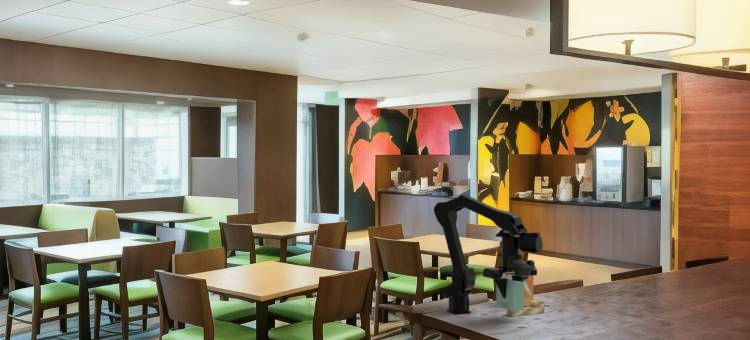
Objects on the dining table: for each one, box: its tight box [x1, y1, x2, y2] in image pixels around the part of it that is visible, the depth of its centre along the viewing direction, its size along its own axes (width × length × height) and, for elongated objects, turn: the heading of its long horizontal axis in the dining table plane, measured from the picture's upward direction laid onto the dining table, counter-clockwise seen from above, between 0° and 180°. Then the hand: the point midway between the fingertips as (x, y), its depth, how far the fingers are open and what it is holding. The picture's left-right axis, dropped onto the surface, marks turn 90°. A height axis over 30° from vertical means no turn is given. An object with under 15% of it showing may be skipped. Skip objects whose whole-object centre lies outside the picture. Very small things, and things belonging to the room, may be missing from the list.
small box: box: [506, 274, 534, 307], centre depth 241 cm, size 8×6×13 cm
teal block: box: [495, 279, 524, 311], centre depth 217 cm, size 4×9×9 cm, turn 26°
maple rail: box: [506, 299, 545, 317], centre depth 227 cm, size 14×3×4 cm, turn 116°
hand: (510, 297), depth 218 cm, fingers closed on teal block, 4 cm apart
